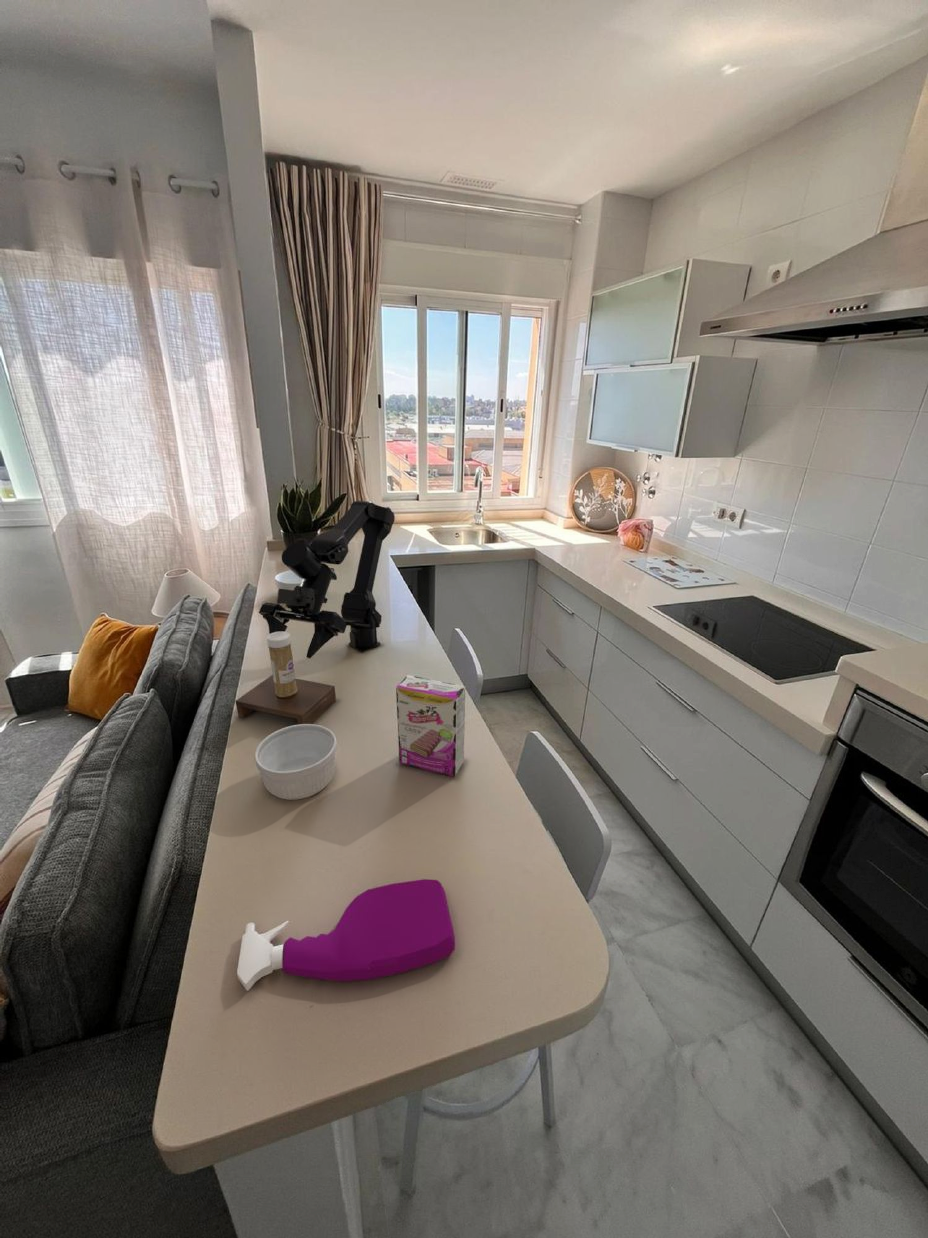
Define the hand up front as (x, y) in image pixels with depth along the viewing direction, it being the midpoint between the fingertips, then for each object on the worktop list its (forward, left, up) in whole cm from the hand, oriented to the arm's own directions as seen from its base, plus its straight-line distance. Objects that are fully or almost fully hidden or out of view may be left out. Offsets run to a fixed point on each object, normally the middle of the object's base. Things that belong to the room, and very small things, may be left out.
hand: (289, 654), depth 104 cm
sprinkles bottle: (+2, +1, -8) cm, 9 cm away
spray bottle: (+22, +54, -12) cm, 59 cm away
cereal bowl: (-36, -63, -12) cm, 73 cm away
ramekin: (+11, +23, -12) cm, 28 cm away
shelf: (+2, +1, -12) cm, 12 cm away
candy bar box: (-8, +36, -12) cm, 39 cm away
